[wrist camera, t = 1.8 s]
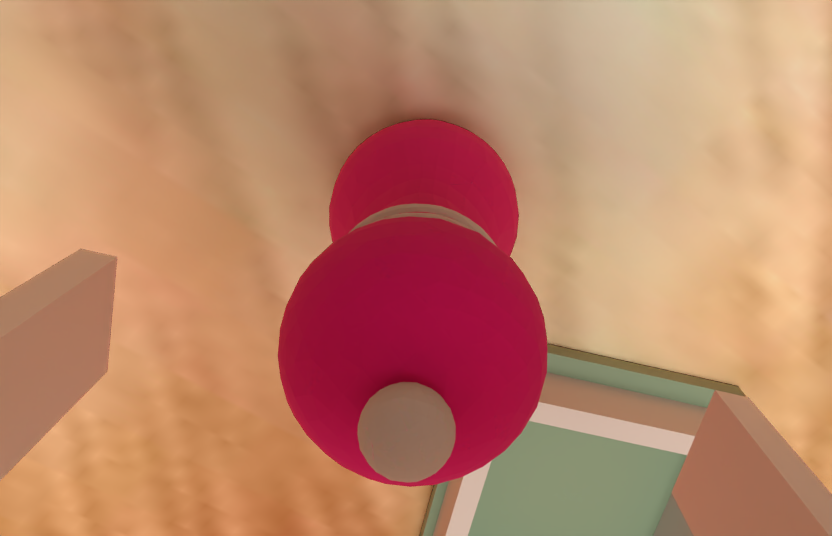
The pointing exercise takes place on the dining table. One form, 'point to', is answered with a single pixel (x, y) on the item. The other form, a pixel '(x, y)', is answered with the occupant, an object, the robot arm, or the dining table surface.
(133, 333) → the dining table surface
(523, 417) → the pepper mill
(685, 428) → the deck socket
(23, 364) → the robot arm
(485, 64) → the dining table surface
